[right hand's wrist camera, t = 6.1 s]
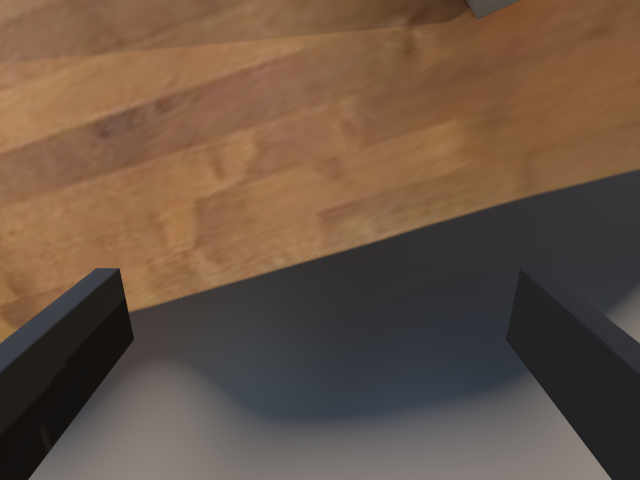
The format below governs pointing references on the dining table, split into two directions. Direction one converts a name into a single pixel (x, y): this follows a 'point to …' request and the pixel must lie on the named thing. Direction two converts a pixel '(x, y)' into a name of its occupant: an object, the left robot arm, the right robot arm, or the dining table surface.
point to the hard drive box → (487, 6)
